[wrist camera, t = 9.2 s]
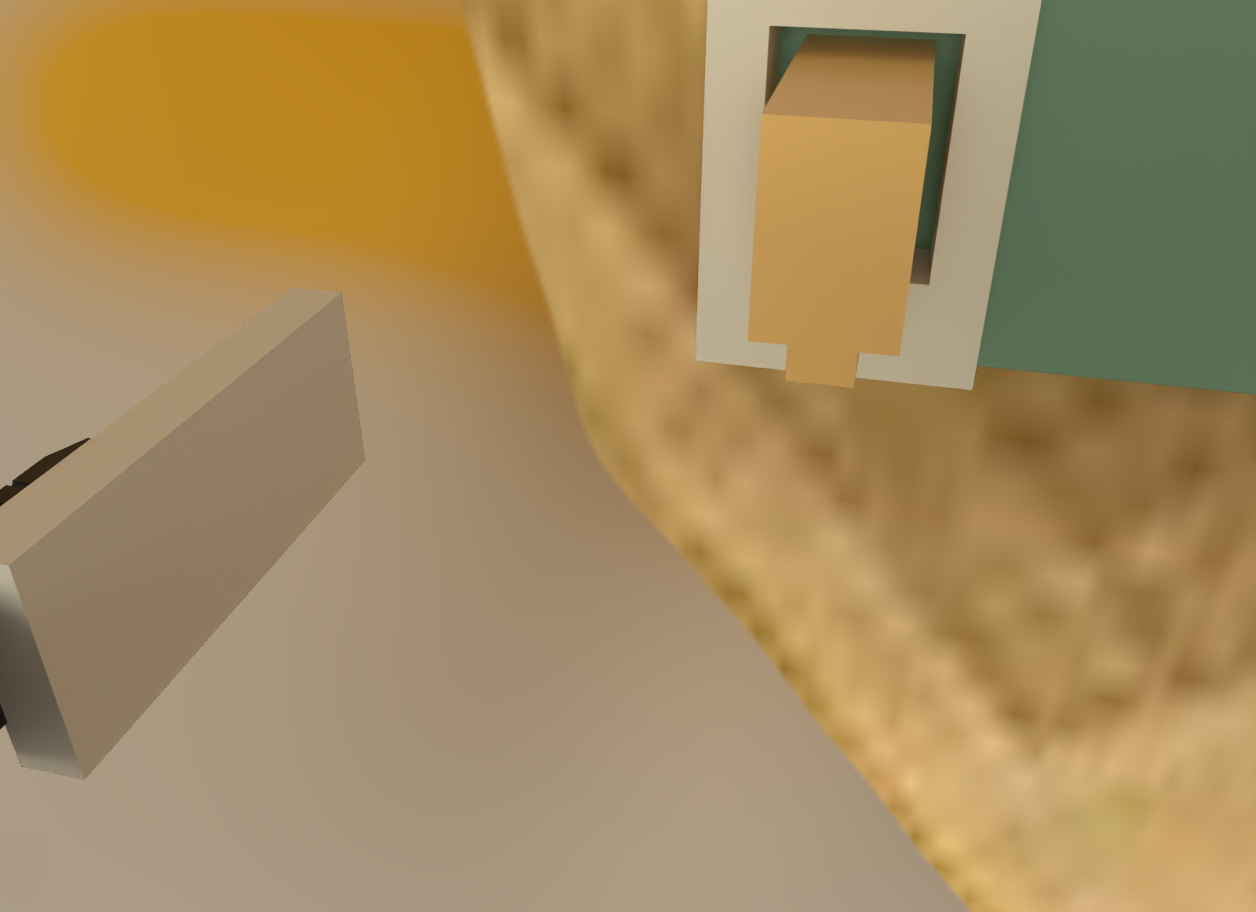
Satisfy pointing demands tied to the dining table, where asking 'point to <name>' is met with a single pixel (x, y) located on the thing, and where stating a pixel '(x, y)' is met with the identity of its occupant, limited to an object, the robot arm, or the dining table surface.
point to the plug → (840, 202)
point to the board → (1027, 186)
